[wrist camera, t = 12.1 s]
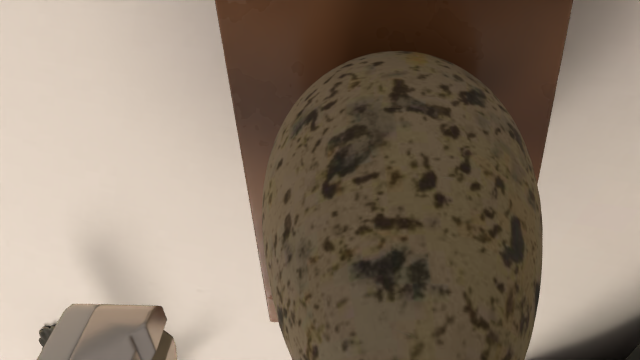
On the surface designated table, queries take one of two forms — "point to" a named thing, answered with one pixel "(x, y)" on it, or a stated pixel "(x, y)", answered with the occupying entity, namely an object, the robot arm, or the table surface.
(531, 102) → the shelf
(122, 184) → the table surface
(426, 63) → the decorative egg
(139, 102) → the table surface
